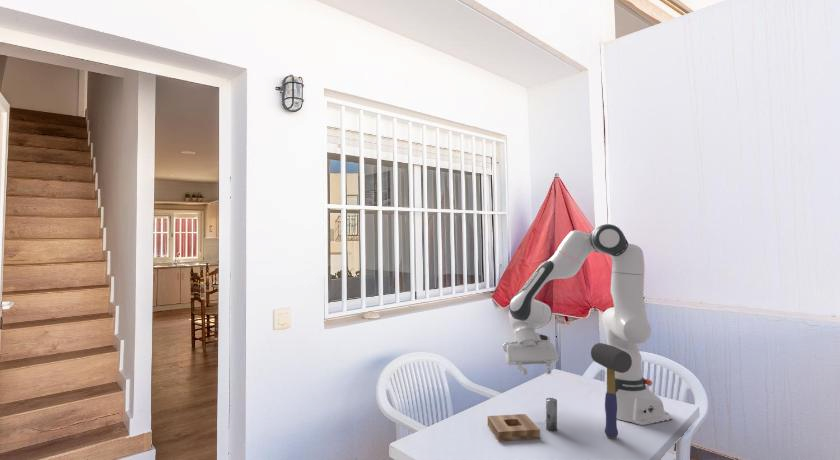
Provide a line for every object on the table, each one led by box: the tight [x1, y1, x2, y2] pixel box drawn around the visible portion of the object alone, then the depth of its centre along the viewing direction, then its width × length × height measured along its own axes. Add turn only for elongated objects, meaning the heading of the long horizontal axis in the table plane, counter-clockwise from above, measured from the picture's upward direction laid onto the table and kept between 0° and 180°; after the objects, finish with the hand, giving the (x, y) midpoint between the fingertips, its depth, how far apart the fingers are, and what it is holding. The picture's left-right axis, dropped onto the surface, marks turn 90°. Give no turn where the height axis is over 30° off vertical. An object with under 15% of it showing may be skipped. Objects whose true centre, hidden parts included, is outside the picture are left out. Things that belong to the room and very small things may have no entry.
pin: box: [545, 397, 558, 432], centre depth 140 cm, size 4×4×10 cm
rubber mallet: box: [590, 342, 632, 439], centre depth 135 cm, size 12×8×30 cm, turn 14°
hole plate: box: [487, 413, 541, 442], centre depth 139 cm, size 14×12×3 cm
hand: (537, 374), depth 152 cm, fingers open, 8 cm apart
